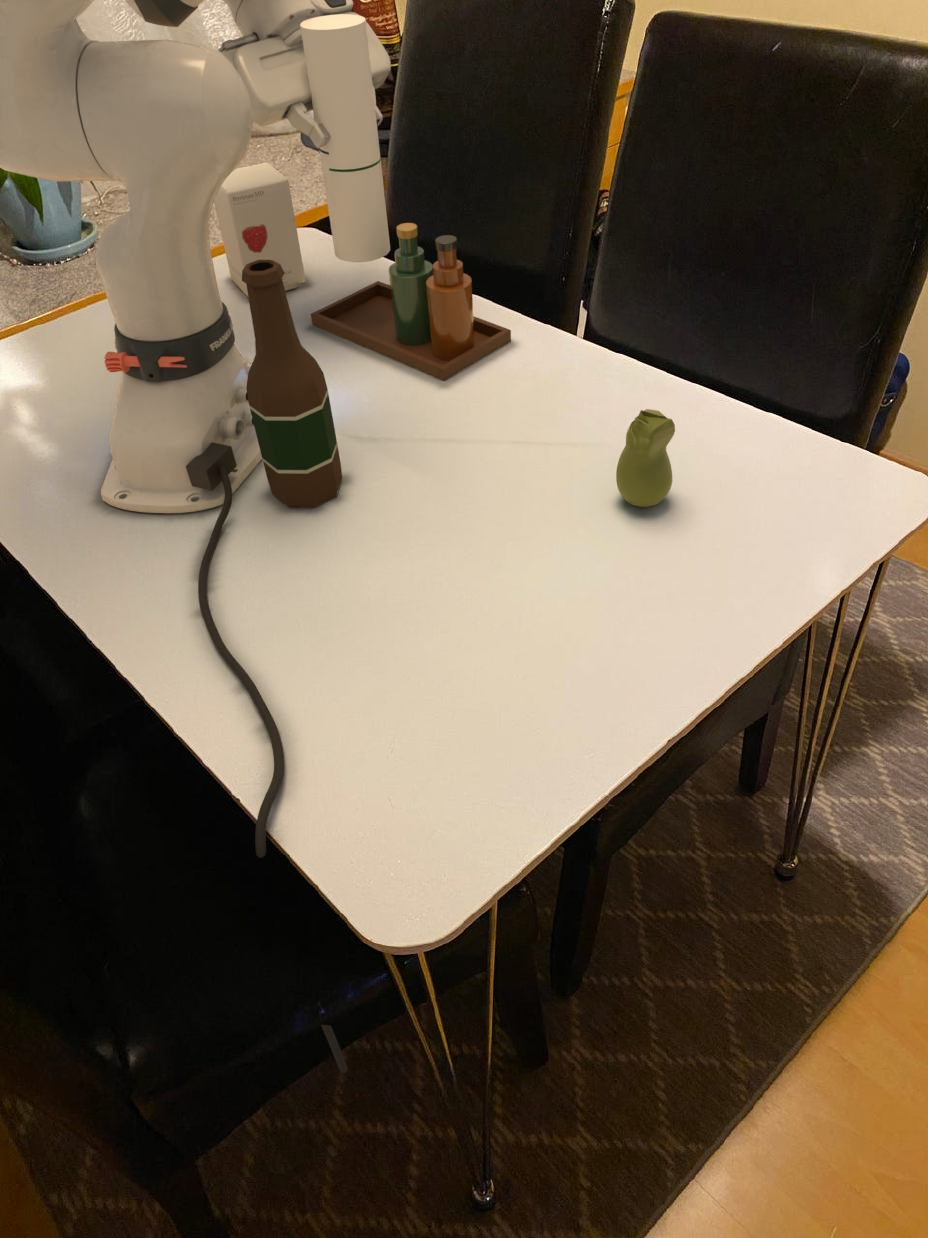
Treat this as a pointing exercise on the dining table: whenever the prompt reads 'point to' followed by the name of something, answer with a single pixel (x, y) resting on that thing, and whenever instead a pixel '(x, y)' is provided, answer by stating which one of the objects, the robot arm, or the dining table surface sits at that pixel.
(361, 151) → the cylindrical container
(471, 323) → the amber bottle
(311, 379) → the beer bottle
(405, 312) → the green bottle
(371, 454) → the dining table surface
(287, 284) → the white product box
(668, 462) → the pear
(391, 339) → the tray
